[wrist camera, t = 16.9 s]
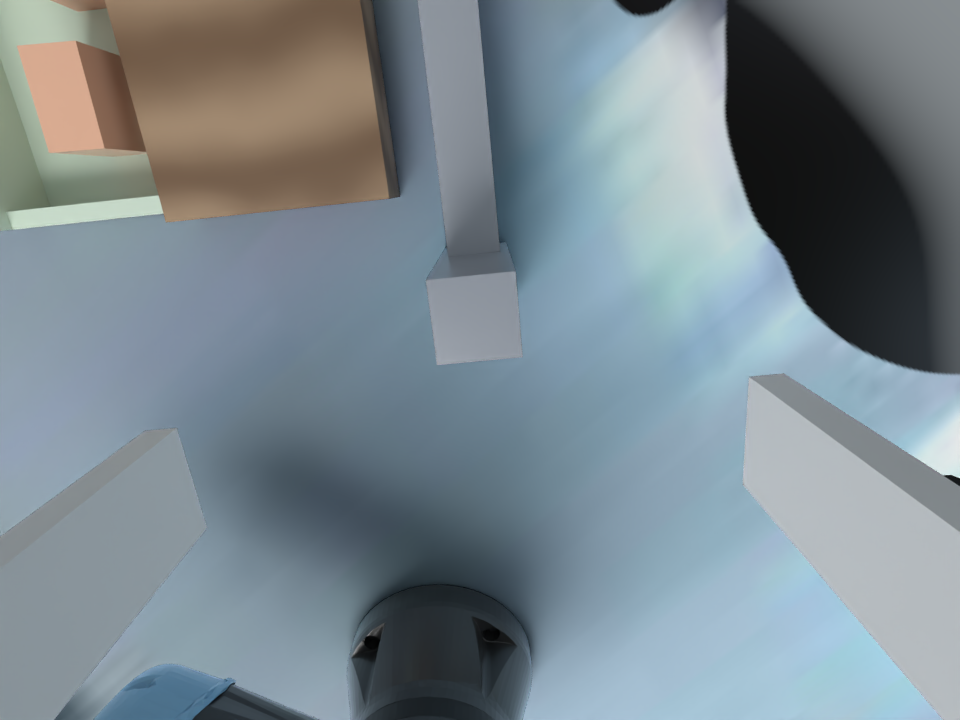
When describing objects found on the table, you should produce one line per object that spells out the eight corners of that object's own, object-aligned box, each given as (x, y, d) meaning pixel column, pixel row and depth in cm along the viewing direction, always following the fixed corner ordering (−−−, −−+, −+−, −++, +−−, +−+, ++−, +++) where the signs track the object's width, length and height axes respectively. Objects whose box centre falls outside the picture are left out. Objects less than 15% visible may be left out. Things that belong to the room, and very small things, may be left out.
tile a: (104, 148, 28) (49, 152, 28) (159, 153, 33) (111, 156, 33) (75, 40, 27) (16, 45, 27) (137, 61, 32) (87, 65, 32)
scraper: (511, 301, 36) (522, 357, 25) (452, 307, 37) (437, 365, 25) (473, -137, 29) (465, -343, 18) (399, -127, 29) (344, -325, 18)
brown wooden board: (400, 196, 34) (389, 198, 31) (200, 217, 35) (166, 222, 31) (353, -133, 29) (333, -180, 25) (119, -102, 30) (65, -143, 26)
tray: (198, 209, 35) (142, 215, 29) (49, 226, 35) (-36, 234, 29) (110, -135, 29) (19, -212, 23) (-67, -112, 30) (-199, -181, 24)
